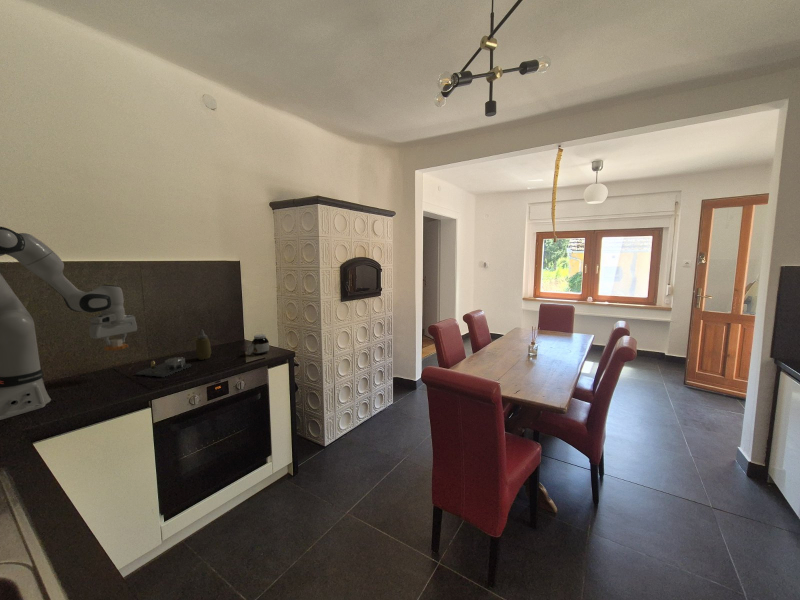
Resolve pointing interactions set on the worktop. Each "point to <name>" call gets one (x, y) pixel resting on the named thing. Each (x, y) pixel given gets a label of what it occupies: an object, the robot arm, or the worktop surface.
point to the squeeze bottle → (203, 346)
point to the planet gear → (116, 345)
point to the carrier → (165, 367)
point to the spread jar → (258, 345)
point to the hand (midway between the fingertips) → (116, 343)
